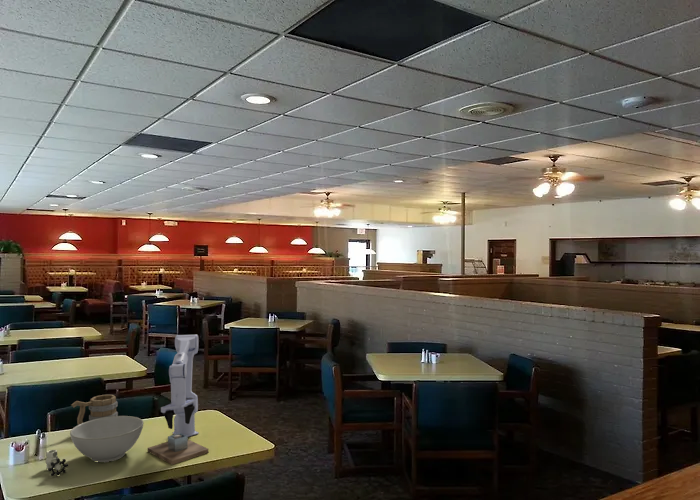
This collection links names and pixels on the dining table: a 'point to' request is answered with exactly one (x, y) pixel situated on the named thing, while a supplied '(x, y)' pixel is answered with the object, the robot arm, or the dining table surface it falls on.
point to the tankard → (98, 407)
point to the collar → (177, 442)
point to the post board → (177, 456)
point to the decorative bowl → (107, 437)
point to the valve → (54, 462)
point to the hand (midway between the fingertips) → (179, 425)
